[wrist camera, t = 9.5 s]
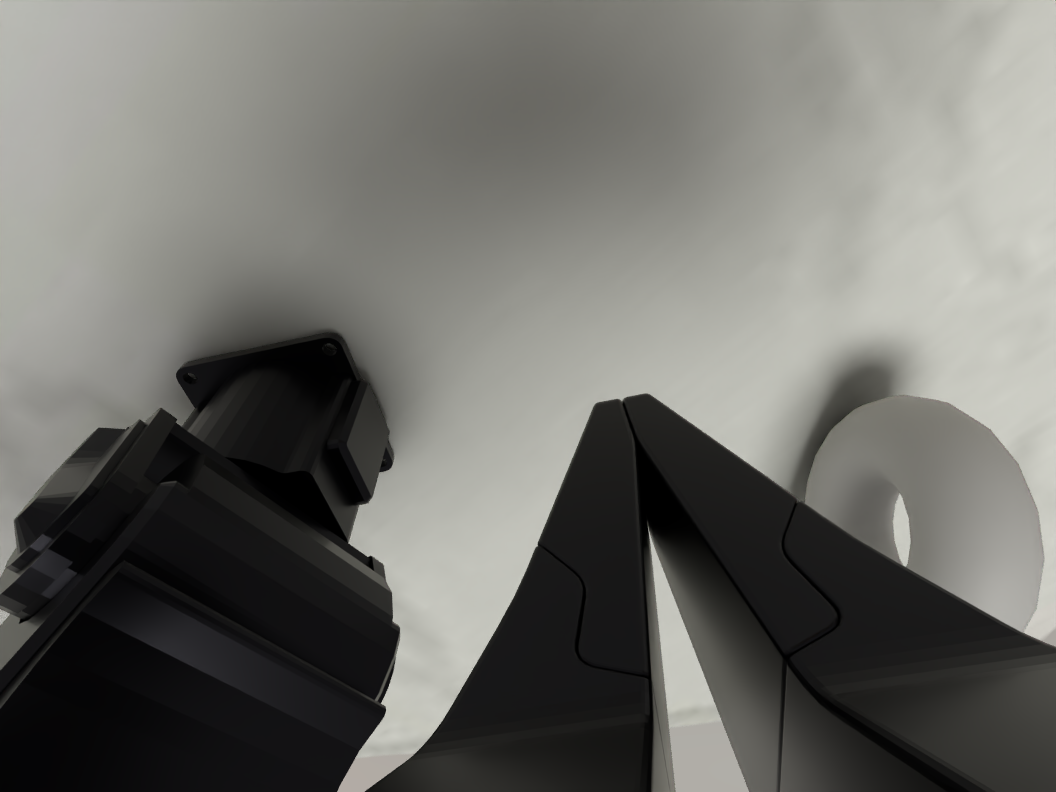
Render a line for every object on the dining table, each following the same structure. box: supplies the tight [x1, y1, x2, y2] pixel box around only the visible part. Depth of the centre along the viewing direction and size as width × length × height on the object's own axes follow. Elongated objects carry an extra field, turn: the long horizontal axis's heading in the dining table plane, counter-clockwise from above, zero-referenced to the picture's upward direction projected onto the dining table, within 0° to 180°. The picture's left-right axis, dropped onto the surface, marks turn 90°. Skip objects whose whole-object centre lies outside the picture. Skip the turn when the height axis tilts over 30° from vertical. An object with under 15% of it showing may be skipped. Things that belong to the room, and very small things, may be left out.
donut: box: [805, 395, 1044, 632], centre depth 22 cm, size 10×4×10 cm, turn 175°
